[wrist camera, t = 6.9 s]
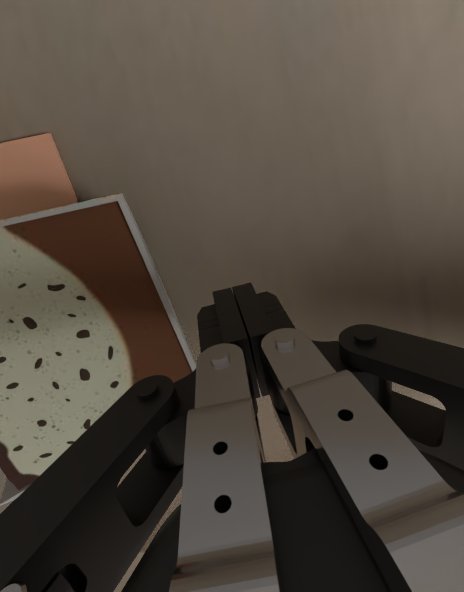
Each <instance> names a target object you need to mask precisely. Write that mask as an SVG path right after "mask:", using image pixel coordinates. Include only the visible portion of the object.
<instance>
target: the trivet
mask: <svg viewBox="0 0 464 592" xmlns="http://www.w3.org/2000/svg"><path fill="white" fill-rule="evenodd" d="M74 203H78V199H77V197H76V194H75V192H74V189H73V187H72V184H71V182H70V179H69V177H68V174H67V172H66V169H65V167H64V164H63V162H62V159H61V157H60V154H59V152H58V149H57V147H56V144H55V142H54V139H53V137H52V134H51V133H46V134H42V135H37V136H32V137H27V138H22V139H18V140H13V141H8V142H3V143H0V220H3V219H8V218H12V217H16V216H21V215H25V214H30V213H34V212H39V211H43V210H47V209H52V208H56V207H61V206H65V205H70V204H74Z"/></svg>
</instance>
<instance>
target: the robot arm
mask: <svg viewBox="0 0 464 592" xmlns="http://www.w3.org/2000/svg"><path fill="white" fill-rule="evenodd" d="M232 289H233V293H232V290H231V288H227V289H223V290H218V291H214V292H213V297H214V302H215V304H214V305H210V306H206V307H202V308H201V310H200V312H199V313H198V315H197V319H198V329H199V339H200V349H201V354H200V355H199V357H198V359H197V363H196V369H195V370H194V371H193V372H192V373H190V374H189V375H187V376H186V377H184V378H182V379H180V380H178V381H176V382H174V383H173V381H172V380H171V379H170V378H169V377H167V376H163V375H154V376H149V377H146V378H144V379H142V380H140V381H138V382H136V383H135V384H134V385H133V386H131V387H130V388H129V389H128V390H127V391H126V392H125V393H124V394H123V395H122V396H121V397H120V398H119V399H118V400H117V401H116V402H115V403H114V404H113V405H112V406H111V407H110V408H109V409H108V410H107V411H106V412H105V413H104V414H103V415H102V416H101V417H99V418H98V419H97V420H96V421H95V422H94V423H93V424H92V425H91V426H90V427H89V428H88V429H87V430H86V431H85V432H84V433H83V434H82V435H81V436H80V437H79V438H78V439H77V440H76V441H75V442H74V443H73V444H72V445H71V446H70V447H69V448H68V449H67V450H66V451H65V452H64V453H63V454H62V455H60V456H59V457H58V458H57V459H56V460H55V461H54V462H53V463H52V464H51V465H50V466H49V467H48V468H47V469H46V470H45V471H44V472H43V473H42V474H41V475H40V476H39V477H38V478H37V479H36V480H35V481H34V482H33V483H32V484H31V485H30V486H29V487H28V488H27V489H26V490H25V491H24V492H23V493H21V494H20V495H19V496H18V497H17V498H16V499H15V500H14V501H13V502H12V503H11V504H10V505H9V506H8V507H7V508H6V509H5V510H4V511H3V512H2V513H1V514H0V592H113V591H114V590H115V588H116V587H117V585H118V583H119V582H120V580H121V579H122V577H123V576H124V574H125V573H126V571H127V570H128V568H129V567H130V565H131V564H132V562H133V561H134V559H135V558H136V556H137V554H138V553H139V551H140V550H141V548H142V547H143V545H144V544H145V542H146V541H147V539H148V538H149V536H150V535H151V533H152V532H153V530H154V529H155V527H156V526H157V524H158V522H159V521H160V519H161V518H162V516H163V515H164V513H165V512H166V510H167V509H168V507H169V506H170V504H171V503H172V501H173V500H174V498H175V497H176V495H177V494H178V492H179V490H180V489H181V487H182V500H181V504H180V505H179V506H178V507H177V508H176V509H175V510H174V511H173V512H172V513H171V515H170V516H169V517H168V518H167V519H166V521H165V522H164V523H163V525H162V526H161V528H160V529H159V531H158V532H157V534H156V535H155V537H154V539H153V540H152V542H151V544H150V545H149V547H148V549H147V550H146V552H145V553H144V555H143V557H142V558H141V560H140V562H139V563H138V565H137V567H136V568H135V570H134V572H133V573H132V575H131V577H130V578H129V580H128V581H127V583H126V585H125V586H124V588H123V590H122V591H121V592H464V348H460V347H456V346H452V345H449V344H445V343H441V342H437V341H433V340H429V339H425V338H421V337H417V336H414V335H410V334H406V333H402V332H398V331H394V330H390V329H386V328H382V327H378V326H374V325H367V324H362V325H354V326H351V327H348V328H346V329H345V330H343V331H342V332H341V333H340V335H339V341H332V342H318V341H312V340H310V338H309V337H308V336H307V335H306V334H305V333H304V332H303V331H301V330H298V329H295V327H294V325H293V324H292V322H291V320H290V319H289V317H288V315H287V314H286V312H285V310H284V309H283V307H282V305H281V304H280V302H279V300H278V299H277V297H276V296H275V295H273V294H271V293H269V292H263V293H259V294H256V292H255V290H254V288H253V286H252V284H251V283H247V284H243V285H239V286H235V287H232ZM233 294H234V295H233ZM256 378H257V379H256ZM257 381H258V383H257ZM392 382H394V383H397V384H400V385H403V386H406V387H408V388H411V389H414V390H417V391H420V392H422V393H425V394H428V395H431V396H433V397H435V398H436V399H438V400H439V401H440V402H441V403H442V404H443V405H444V406H445V408H446V410H442V409H439V408H437V407H434V406H431V405H429V404H426V403H423V402H421V401H418V400H415V399H413V398H410V397H407V396H405V395H402V394H399V393H397V392H394V391H392ZM258 384H259V387H260V390H261V394H262V396H265V395H269V394H270V397H271V400H272V405H273V410H274V414H275V417H276V419H277V421H278V424H279V426H280V428H281V430H282V433H283V435H284V437H285V439H286V441H287V444H288V446H289V448H290V450H291V453H292V455H293V457H294V460H292V461H288V462H266V460H265V454H264V449H263V443H262V437H261V432H260V426H259V421H258V416H257V413H258V406H257V402H256V398H258V397H260V393H259V388H258ZM144 449H145V450H146V453H145V454H144V455H143V456H142V458H141V459H140V460H139V461H138V463H137V464H136V465H135V466H134V468H133V469H132V470H131V471H130V473H129V474H128V475H127V476H126V477H125V479H124V480H123V481H122V482H121V484H120V485H119V486H118V483H119V481H120V479H121V477H122V476H123V475H124V473H125V472H126V471H127V470H128V469H129V467H130V466H131V465H132V464H133V463H134V461H135V460H136V459H137V458H138V456H139V455H140V454H141V453H142V452H143V450H144ZM117 486H118V487H117Z"/></svg>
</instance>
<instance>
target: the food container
mask: <svg viewBox="0 0 464 592" xmlns="http://www.w3.org/2000/svg"><path fill="white" fill-rule="evenodd" d="M195 369H196V363H195V360H194V358H193V355H192V353H191V350H190V348H189V345H188V343H187V340H186V338H185V335H184V333H183V331H182V328H181V326H180V323H179V321H178V319H177V316H176V314H175V311H174V309H173V306H172V304H171V302H170V299H169V297H168V295H167V292H166V290H165V287H164V285H163V283H162V280H161V278H160V276H159V273H158V271H157V269H156V266H155V264H154V262H153V259H152V257H151V255H150V252H149V250H148V248H147V245H146V243H145V241H144V239H143V236H142V234H141V232H140V230H139V227H138V225H137V223H136V221H135V219H134V216H133V214H132V212H131V210H130V208H129V205H128V203H127V201H126V199H125V197H124V195H123V194H122V193H118V194H114V195H109V196H105V197H101V198H96V199H92V200H87V201H83V202H78V203H74V204H70V205H65V206H61V207H56V208H52V209H47V210H43V211H39V212H34V213H30V214H25V215H21V216H16V217H12V218H8V219H3V220H0V467H1V469H2V471H3V472H4V474H5V475H6V477H7V479H6V484H5V488H4V492H3V495H2V498H1V501H0V506H1V505H3V504H6V503H8V502H10V501H13V500H15V499H16V498H17V497H18V496H19V495H20V494H21V493H23V492H24V491H25V490H26V489H27V488H28V487H29V486H30V485H31V484H32V483H33V482H34V481H35V480H36V479H37V478H38V477H39V476H40V475H41V474H42V473H43V472H44V471H45V470H46V469H47V468H48V467H49V466H50V465H51V464H52V463H53V462H54V461H55V460H56V459H57V458H58V457H59V456H60V455H62V454H63V453H64V452H65V451H66V450H67V449H68V448H69V447H70V446H71V445H72V444H73V443H74V442H75V441H76V440H77V439H78V438H79V437H80V436H81V435H82V434H83V433H84V432H85V431H86V430H87V429H88V428H89V427H90V426H91V425H92V424H93V423H94V422H95V421H96V420H97V419H98V418H99V417H101V416H102V415H103V414H104V413H105V412H106V411H107V410H108V409H109V408H110V407H111V406H112V405H113V404H114V403H115V402H116V401H117V400H118V399H119V398H120V397H121V396H122V395H123V394H124V393H125V392H126V391H127V390H128V389H129V388H130V387H131V386H133V385H134V384H135V383H136V382H138V381H140V380H142V379H144V378H146V377H149V376H154V375H163V376H167V377H169V378H170V379H171V380H172V381H173V383H174V382H176V381H178V380H180V379H182V378H184V377H186V376H187V375H189V374H190V373H192V372H193V371H194V370H195Z"/></svg>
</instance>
